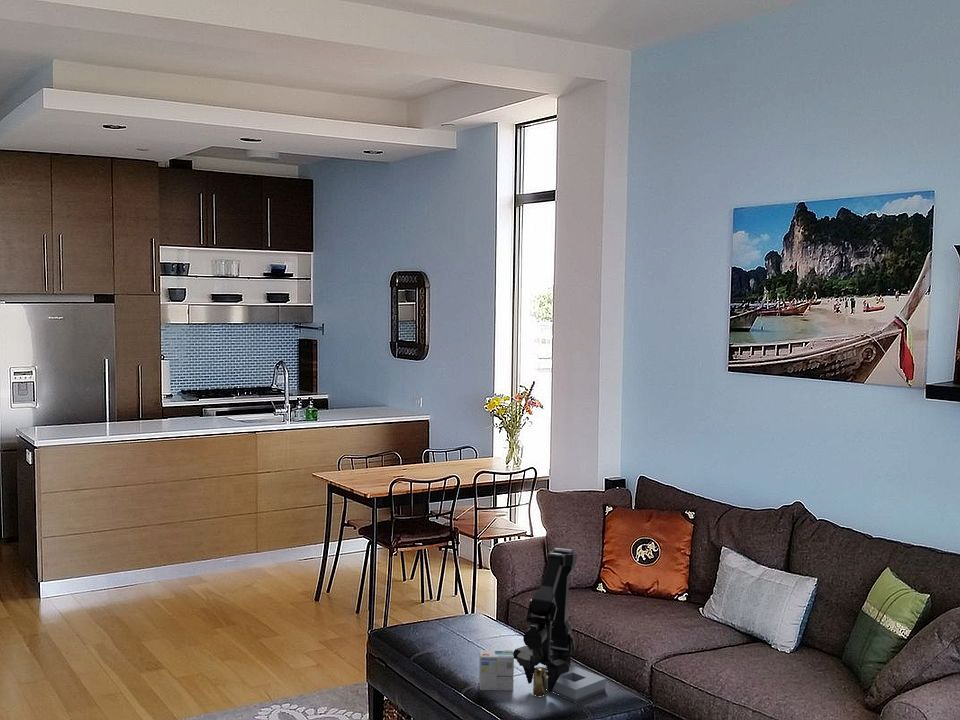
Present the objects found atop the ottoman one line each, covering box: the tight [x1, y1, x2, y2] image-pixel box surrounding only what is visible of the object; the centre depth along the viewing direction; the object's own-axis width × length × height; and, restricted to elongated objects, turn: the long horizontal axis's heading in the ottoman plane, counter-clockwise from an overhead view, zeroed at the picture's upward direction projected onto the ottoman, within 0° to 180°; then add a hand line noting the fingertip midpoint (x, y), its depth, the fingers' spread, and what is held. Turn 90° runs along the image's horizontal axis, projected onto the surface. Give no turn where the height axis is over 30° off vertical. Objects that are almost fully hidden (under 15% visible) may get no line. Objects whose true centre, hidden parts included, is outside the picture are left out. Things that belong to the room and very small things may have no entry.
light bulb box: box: [478, 649, 515, 691], centre depth 321 cm, size 11×7×11 cm, turn 92°
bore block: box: [546, 664, 607, 703], centre depth 320 cm, size 14×14×4 cm
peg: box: [532, 666, 548, 696], centre depth 316 cm, size 4×4×8 cm
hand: (539, 687), depth 316 cm, fingers open, 8 cm apart
